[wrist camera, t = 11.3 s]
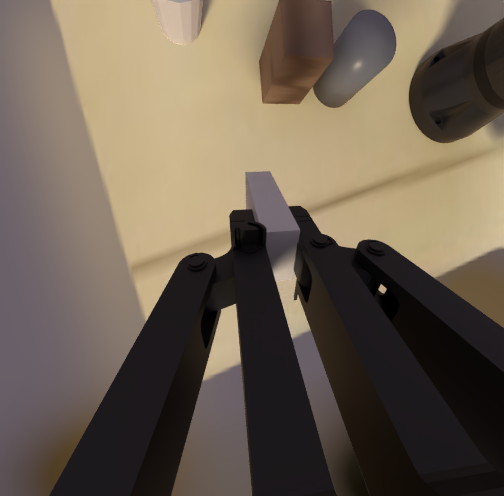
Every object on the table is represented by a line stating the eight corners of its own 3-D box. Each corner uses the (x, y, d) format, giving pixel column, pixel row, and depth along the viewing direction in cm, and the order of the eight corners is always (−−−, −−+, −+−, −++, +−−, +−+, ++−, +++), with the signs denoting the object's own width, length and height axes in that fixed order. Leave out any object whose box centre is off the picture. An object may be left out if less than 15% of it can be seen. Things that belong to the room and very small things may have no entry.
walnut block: (296, 63, 36) (331, 1, 26) (299, 104, 37) (334, 57, 27) (259, 61, 35) (280, -5, 25) (262, 103, 35) (284, 54, 26)
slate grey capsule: (350, 63, 38) (395, 12, 29) (353, 107, 38) (397, 71, 30) (311, 60, 36) (345, 7, 28) (314, 107, 37) (348, 69, 28)
